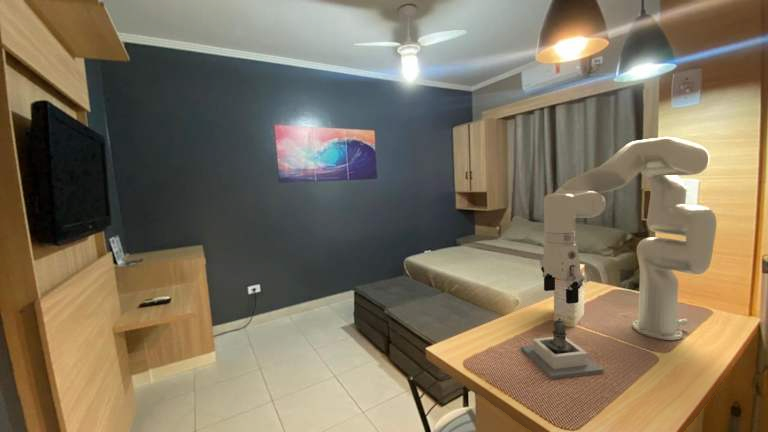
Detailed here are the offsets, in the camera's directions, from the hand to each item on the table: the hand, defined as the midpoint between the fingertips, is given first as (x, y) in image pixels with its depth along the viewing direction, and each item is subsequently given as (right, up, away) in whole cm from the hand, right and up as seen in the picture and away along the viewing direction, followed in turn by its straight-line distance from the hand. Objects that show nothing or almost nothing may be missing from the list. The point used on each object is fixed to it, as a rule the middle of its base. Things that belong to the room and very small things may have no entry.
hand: (560, 296), depth 89 cm
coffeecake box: (+19, -16, +28) cm, 37 cm away
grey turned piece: (+1, -19, +2) cm, 19 cm away
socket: (+1, -19, +2) cm, 19 cm away
